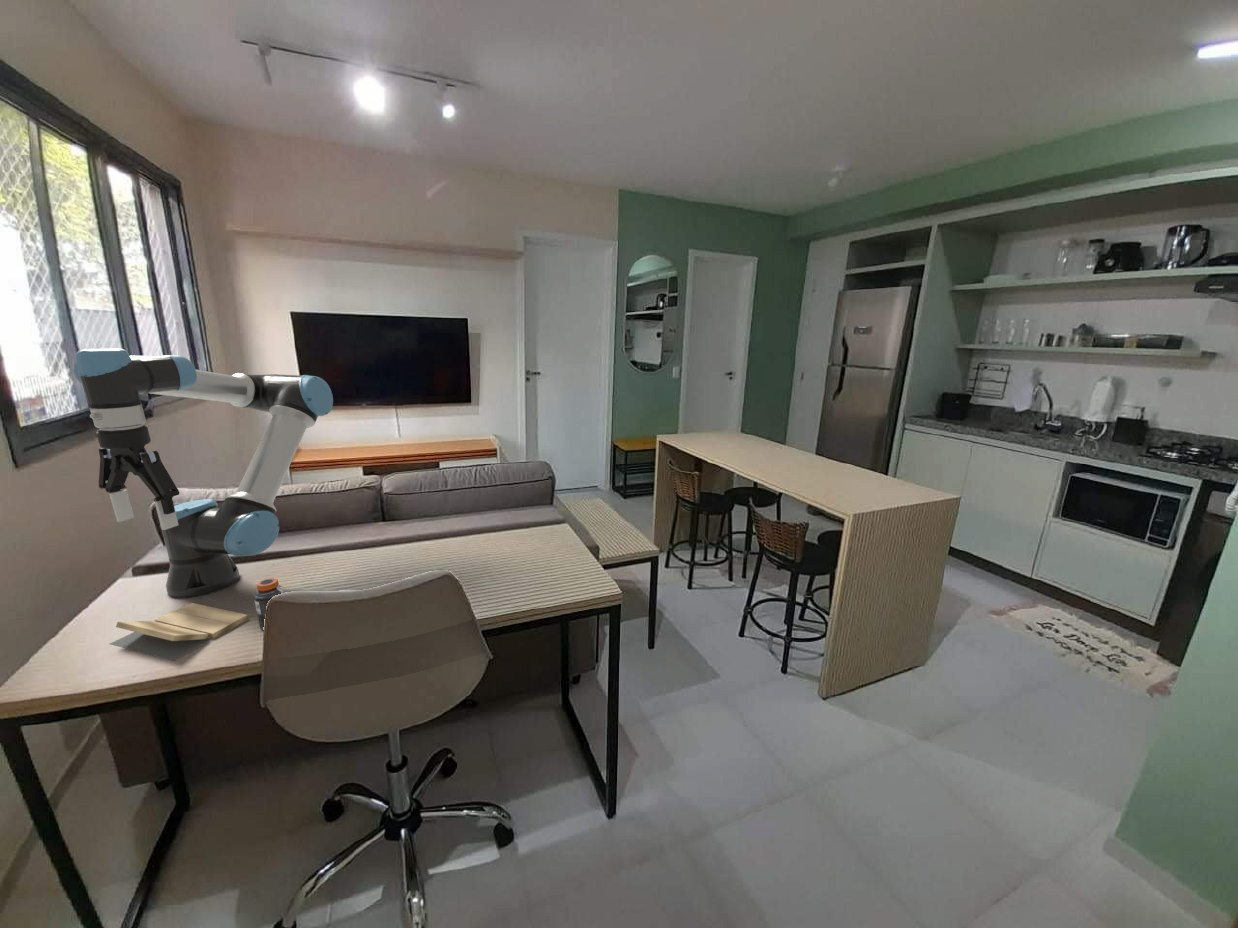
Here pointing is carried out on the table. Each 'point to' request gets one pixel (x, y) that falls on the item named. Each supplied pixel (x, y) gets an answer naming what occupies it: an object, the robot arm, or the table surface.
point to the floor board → (203, 619)
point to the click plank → (162, 630)
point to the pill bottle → (265, 596)
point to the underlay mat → (162, 645)
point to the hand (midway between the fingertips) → (147, 523)
